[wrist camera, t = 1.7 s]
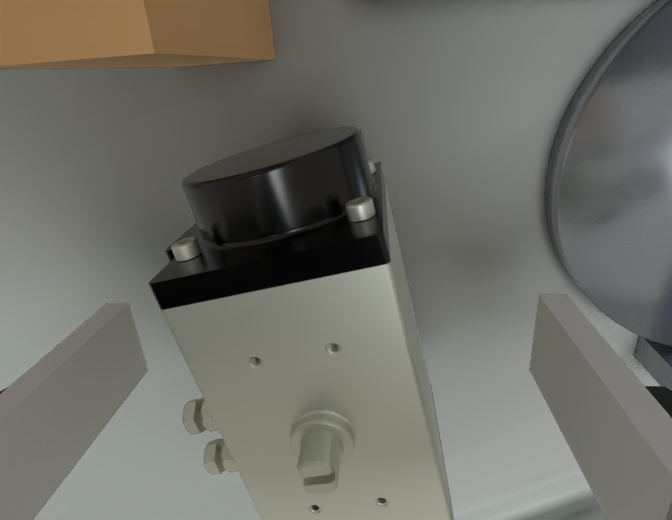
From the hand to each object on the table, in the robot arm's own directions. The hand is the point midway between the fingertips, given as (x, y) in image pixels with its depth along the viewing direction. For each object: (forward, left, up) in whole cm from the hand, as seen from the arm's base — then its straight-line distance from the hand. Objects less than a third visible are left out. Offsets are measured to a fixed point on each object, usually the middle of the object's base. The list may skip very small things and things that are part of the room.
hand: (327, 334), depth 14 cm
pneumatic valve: (0, 0, -6) cm, 6 cm away
